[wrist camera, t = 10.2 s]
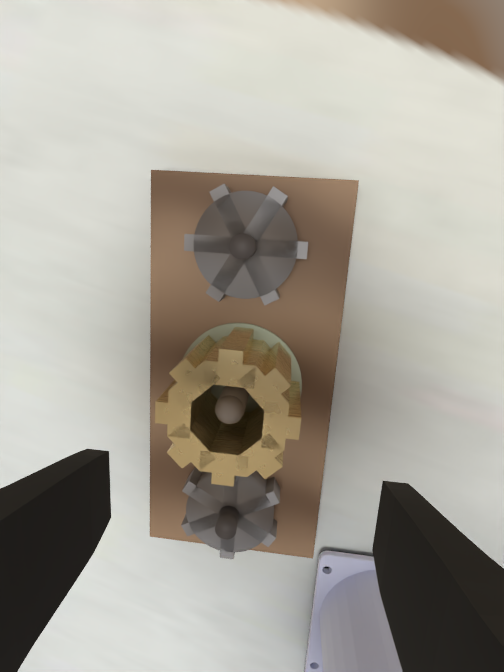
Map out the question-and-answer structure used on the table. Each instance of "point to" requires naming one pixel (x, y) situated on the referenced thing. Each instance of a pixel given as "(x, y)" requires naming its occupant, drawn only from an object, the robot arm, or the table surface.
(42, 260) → the table surface
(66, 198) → the table surface
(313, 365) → the gear board
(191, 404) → the brass gear
